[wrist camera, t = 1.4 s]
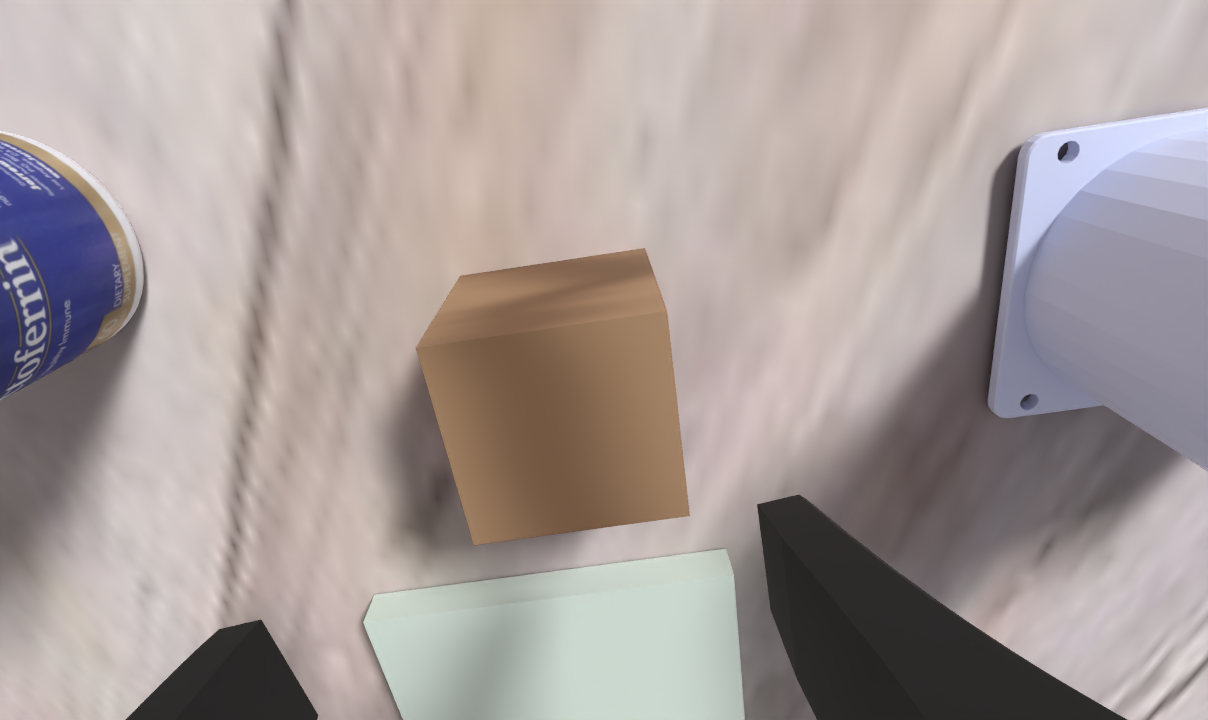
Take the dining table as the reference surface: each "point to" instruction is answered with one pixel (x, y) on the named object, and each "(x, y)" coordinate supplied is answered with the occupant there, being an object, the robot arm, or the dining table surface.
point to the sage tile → (568, 644)
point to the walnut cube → (558, 397)
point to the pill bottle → (58, 262)
